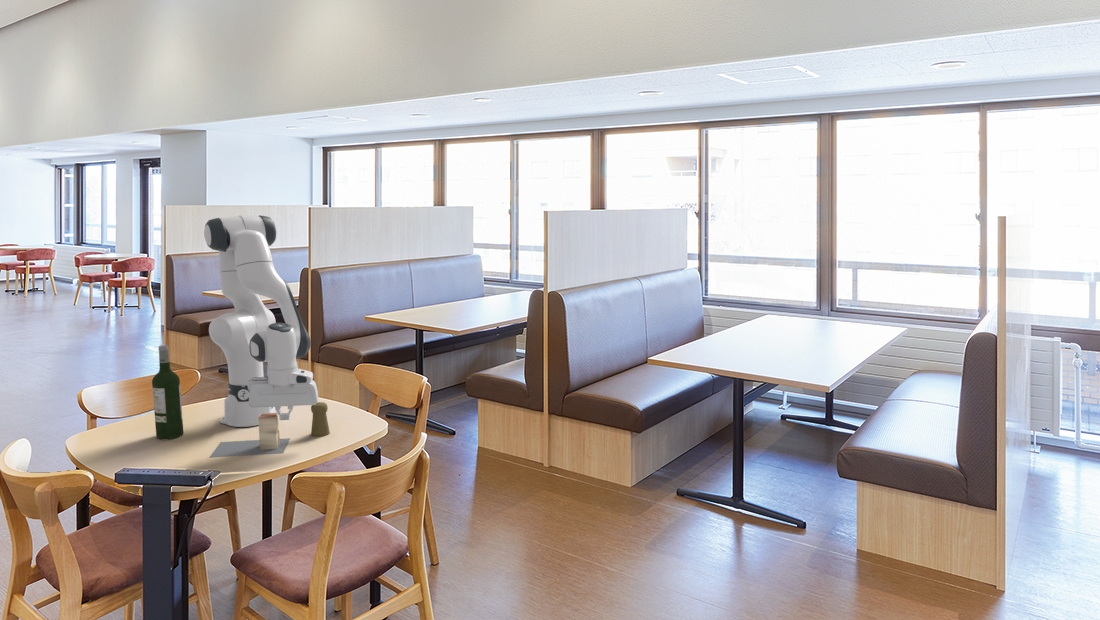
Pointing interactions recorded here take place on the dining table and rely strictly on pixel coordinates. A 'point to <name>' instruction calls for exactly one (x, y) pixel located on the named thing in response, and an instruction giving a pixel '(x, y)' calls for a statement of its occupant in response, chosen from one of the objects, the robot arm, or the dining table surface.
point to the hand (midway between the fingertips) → (284, 419)
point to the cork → (319, 420)
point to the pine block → (269, 431)
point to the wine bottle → (167, 399)
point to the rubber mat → (246, 448)
